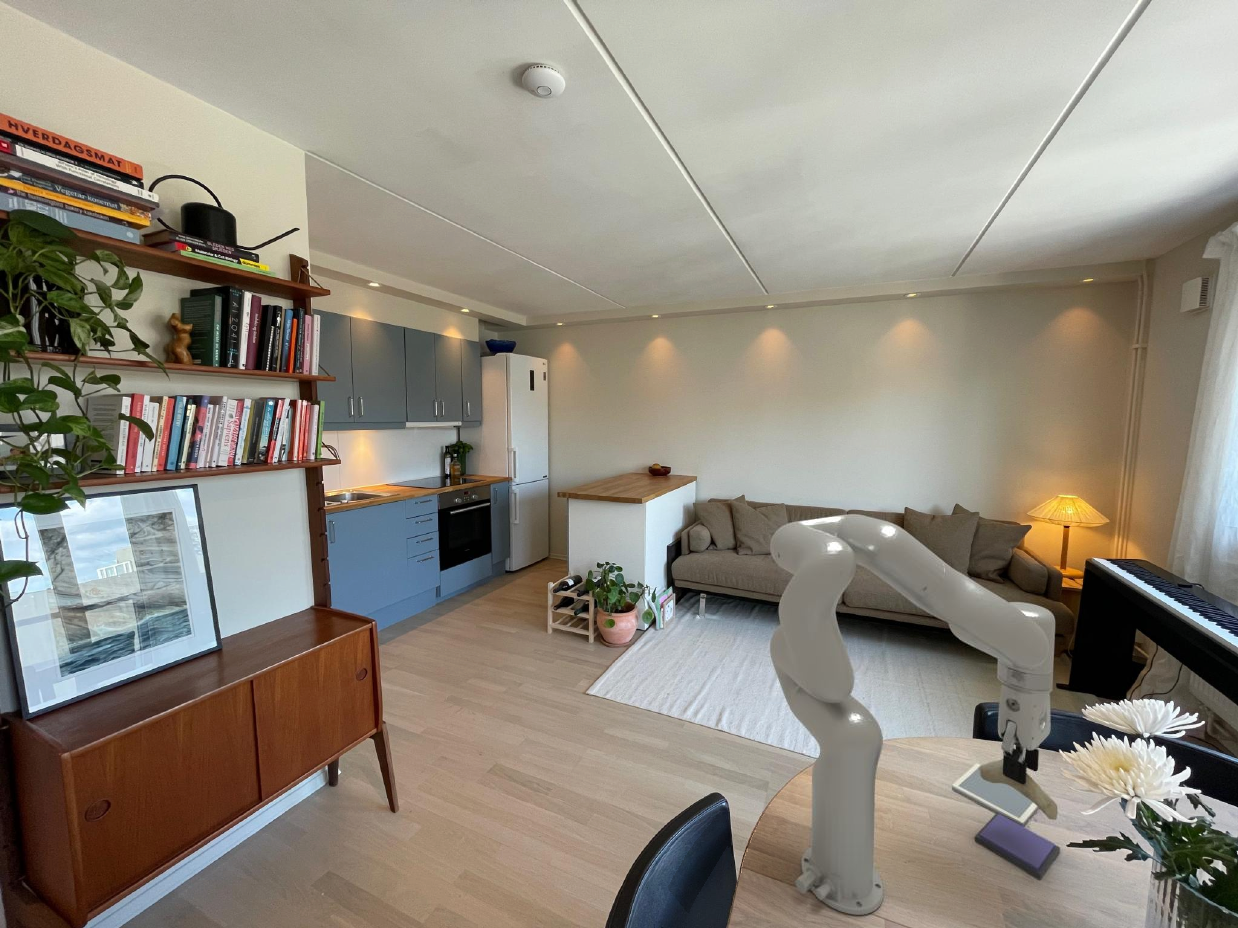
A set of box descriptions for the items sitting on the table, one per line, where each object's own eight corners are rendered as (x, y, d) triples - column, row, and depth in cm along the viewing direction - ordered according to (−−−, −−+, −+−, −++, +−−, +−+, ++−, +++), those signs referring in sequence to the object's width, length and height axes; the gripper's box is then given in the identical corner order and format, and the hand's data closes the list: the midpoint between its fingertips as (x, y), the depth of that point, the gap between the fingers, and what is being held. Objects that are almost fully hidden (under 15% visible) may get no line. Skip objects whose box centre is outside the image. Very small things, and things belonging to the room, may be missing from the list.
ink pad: (1040, 880, 82) (1040, 871, 82) (974, 840, 90) (975, 833, 90) (1059, 852, 87) (1060, 844, 87) (996, 817, 95) (996, 810, 95)
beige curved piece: (975, 778, 91) (977, 753, 91) (996, 769, 94) (998, 745, 93) (1048, 822, 81) (1049, 794, 80) (1069, 811, 83) (1071, 784, 83)
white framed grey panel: (1022, 827, 93) (1022, 822, 93) (951, 789, 103) (952, 784, 103) (1045, 800, 99) (1045, 795, 99) (976, 767, 109) (977, 762, 109)
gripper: (1032, 699, 79) (1028, 807, 80) (1068, 669, 88) (1063, 765, 89) (978, 680, 85) (975, 780, 86) (1017, 653, 94) (1013, 744, 95)
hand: (1020, 771), depth 88 cm, fingers closed on beige curved piece, 4 cm apart
